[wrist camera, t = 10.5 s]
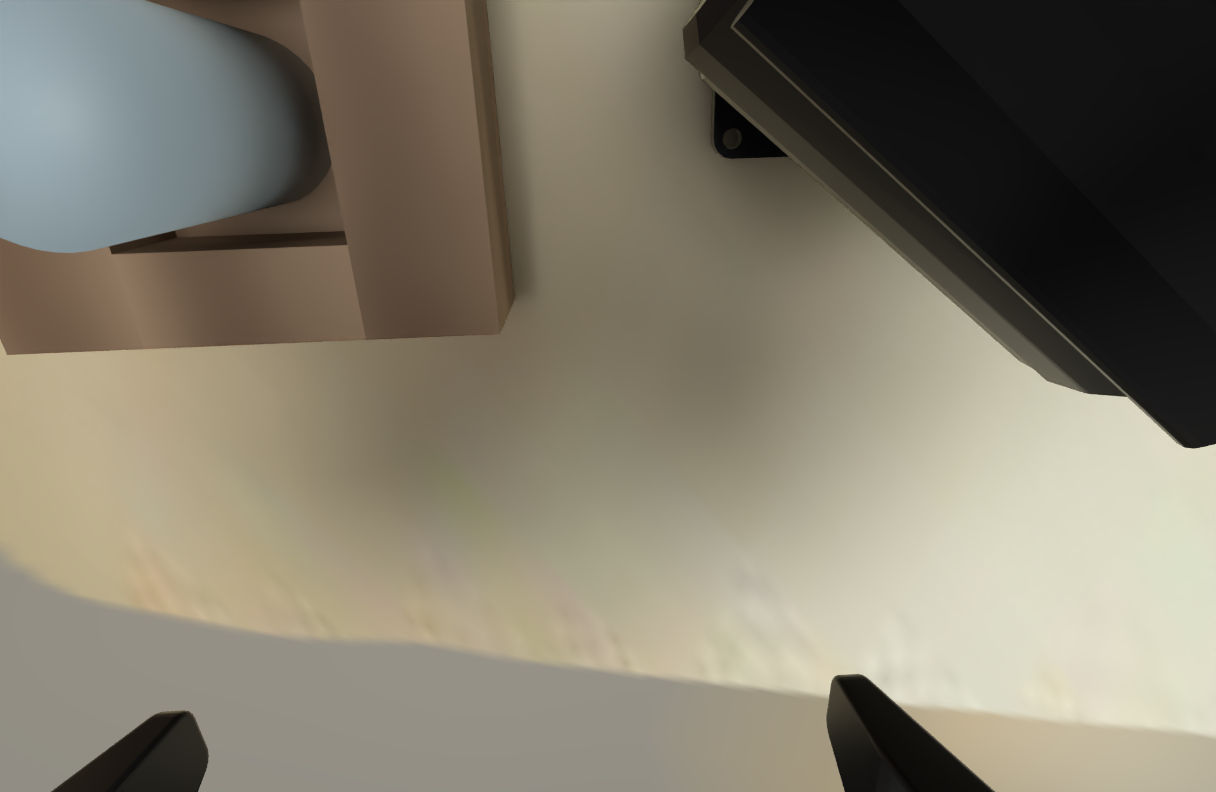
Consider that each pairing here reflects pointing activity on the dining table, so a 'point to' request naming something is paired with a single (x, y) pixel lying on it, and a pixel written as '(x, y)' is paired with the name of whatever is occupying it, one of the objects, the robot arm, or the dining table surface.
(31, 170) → the pin
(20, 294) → the socket block
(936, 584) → the dining table surface
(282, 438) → the dining table surface
